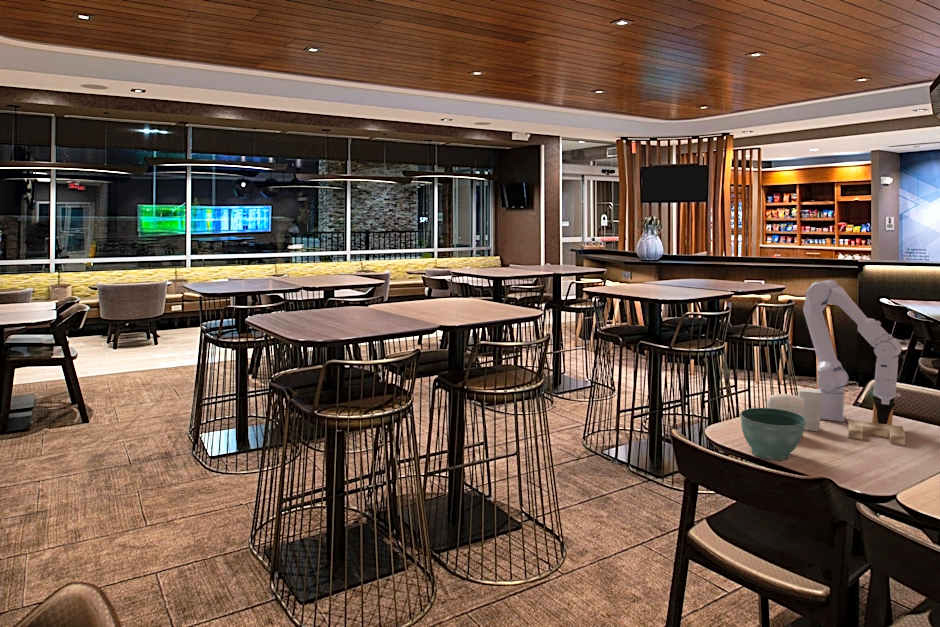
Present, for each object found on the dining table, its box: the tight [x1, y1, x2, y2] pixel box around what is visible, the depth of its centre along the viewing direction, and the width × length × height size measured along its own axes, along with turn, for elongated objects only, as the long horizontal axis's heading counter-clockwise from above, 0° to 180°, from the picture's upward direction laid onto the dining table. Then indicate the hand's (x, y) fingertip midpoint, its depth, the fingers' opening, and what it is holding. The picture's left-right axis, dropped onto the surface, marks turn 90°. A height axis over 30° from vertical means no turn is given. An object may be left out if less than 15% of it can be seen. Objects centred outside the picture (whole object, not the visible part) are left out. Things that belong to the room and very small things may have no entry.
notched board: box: [847, 419, 907, 446], centre depth 203 cm, size 14×11×2 cm
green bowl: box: [740, 407, 806, 461], centre depth 187 cm, size 16×16×11 cm
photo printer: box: [766, 393, 805, 417], centre depth 204 cm, size 10×4×12 cm, turn 73°
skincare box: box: [797, 388, 822, 432], centre depth 210 cm, size 6×4×12 cm
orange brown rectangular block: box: [871, 403, 894, 425], centre depth 211 cm, size 5×3×7 cm, turn 62°
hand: (882, 421), depth 211 cm, fingers closed on orange brown rectangular block, 3 cm apart
